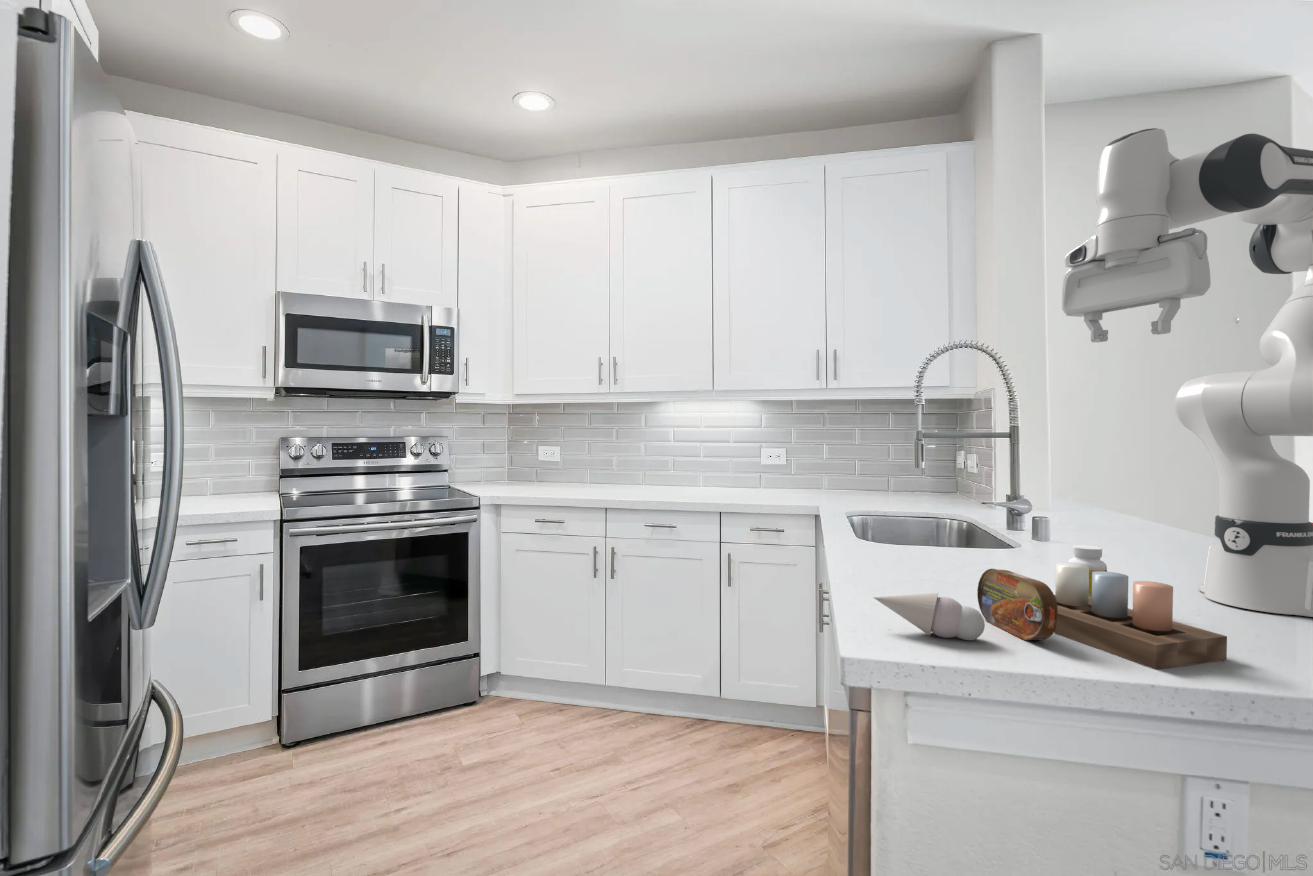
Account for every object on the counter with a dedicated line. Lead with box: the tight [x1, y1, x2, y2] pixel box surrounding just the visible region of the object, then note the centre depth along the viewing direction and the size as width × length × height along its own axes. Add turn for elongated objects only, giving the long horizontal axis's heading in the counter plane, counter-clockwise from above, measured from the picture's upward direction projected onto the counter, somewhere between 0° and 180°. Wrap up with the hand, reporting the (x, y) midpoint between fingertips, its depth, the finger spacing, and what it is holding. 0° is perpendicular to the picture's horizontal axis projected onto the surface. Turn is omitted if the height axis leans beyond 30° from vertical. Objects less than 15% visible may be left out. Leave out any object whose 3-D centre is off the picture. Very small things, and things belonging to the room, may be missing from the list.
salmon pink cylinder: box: [1132, 580, 1174, 631], centre depth 86 cm, size 4×4×6 cm
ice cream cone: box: [873, 592, 986, 641], centre depth 93 cm, size 6×6×15 cm
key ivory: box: [1054, 562, 1089, 606], centre depth 98 cm, size 4×4×6 cm
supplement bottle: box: [1067, 544, 1108, 598], centre depth 107 cm, size 5×5×10 cm
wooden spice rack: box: [1053, 594, 1228, 670], centre depth 92 cm, size 12×22×3 cm, turn 16°
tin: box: [976, 568, 1058, 641], centre depth 95 cm, size 15×3×8 cm, turn 5°
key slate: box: [1092, 571, 1129, 618], centre depth 92 cm, size 4×4×6 cm
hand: (1128, 338), depth 97 cm, fingers open, 8 cm apart
